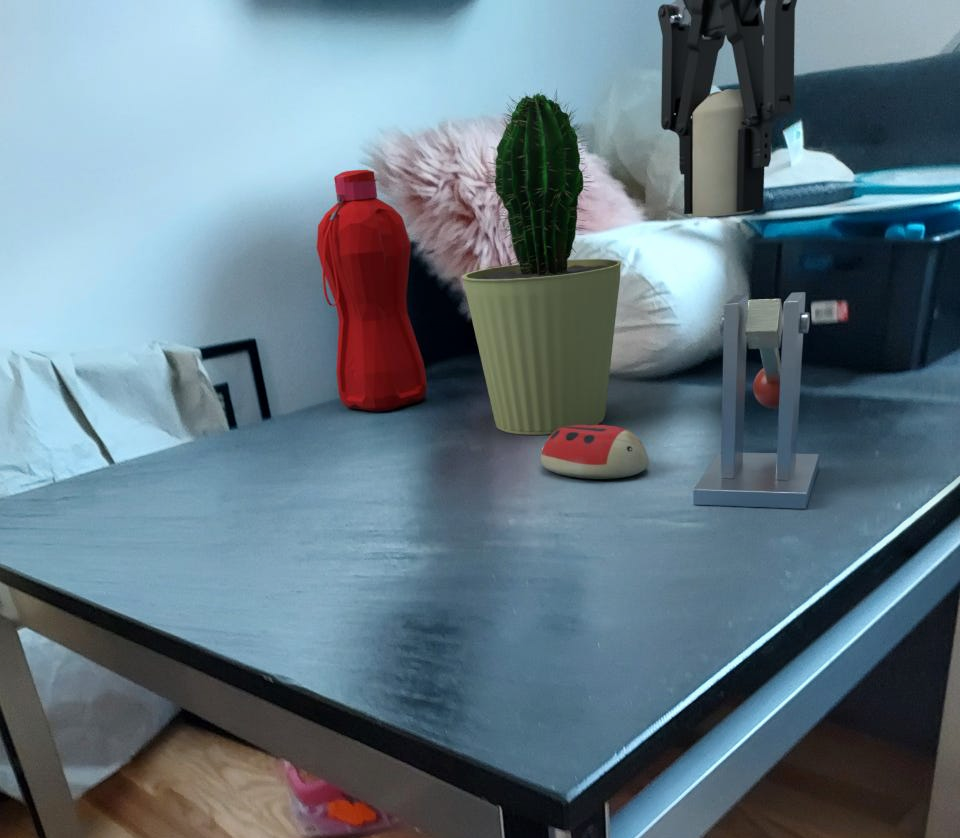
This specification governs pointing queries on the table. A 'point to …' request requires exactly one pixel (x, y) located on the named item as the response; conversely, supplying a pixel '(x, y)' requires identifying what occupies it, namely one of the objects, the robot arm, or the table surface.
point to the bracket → (731, 470)
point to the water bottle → (370, 297)
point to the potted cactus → (543, 285)
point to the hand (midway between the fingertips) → (722, 210)
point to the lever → (766, 347)
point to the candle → (716, 154)
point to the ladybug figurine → (594, 452)
